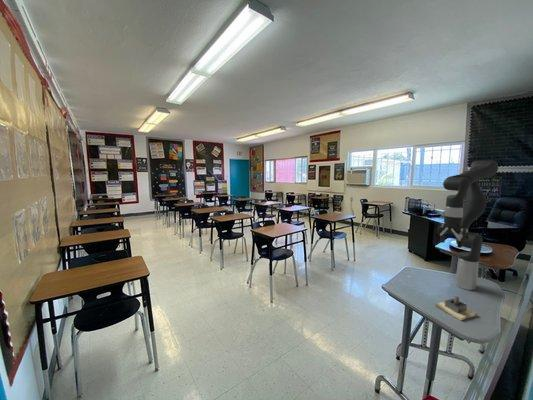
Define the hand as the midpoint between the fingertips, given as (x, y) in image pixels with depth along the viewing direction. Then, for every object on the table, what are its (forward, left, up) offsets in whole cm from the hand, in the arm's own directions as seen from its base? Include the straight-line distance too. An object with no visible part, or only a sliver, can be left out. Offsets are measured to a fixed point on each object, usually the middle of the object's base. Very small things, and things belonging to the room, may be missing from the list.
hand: (450, 244), depth 122 cm
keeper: (+8, +10, -30) cm, 33 cm away
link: (+8, +10, -29) cm, 32 cm away
